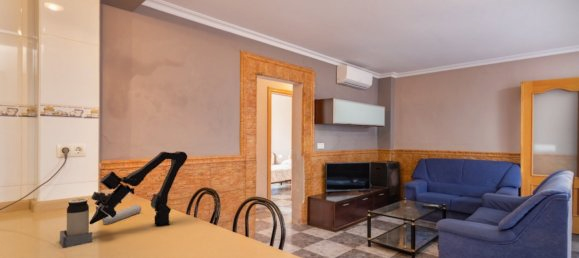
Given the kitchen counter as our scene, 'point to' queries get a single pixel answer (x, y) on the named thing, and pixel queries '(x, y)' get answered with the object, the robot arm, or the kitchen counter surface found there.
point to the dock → (74, 239)
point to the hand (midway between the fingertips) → (89, 223)
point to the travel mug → (77, 217)
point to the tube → (122, 214)
